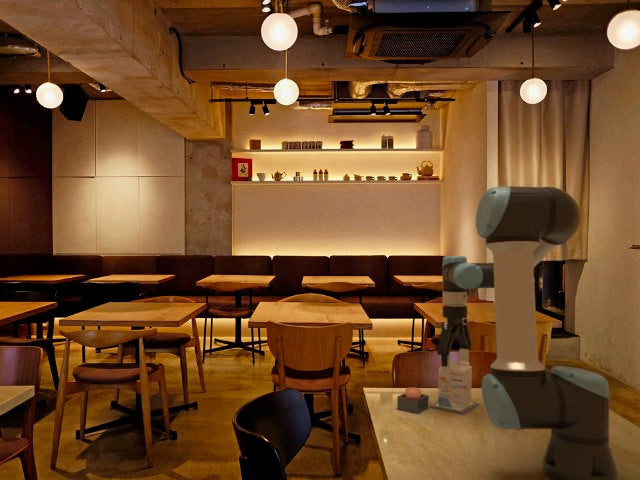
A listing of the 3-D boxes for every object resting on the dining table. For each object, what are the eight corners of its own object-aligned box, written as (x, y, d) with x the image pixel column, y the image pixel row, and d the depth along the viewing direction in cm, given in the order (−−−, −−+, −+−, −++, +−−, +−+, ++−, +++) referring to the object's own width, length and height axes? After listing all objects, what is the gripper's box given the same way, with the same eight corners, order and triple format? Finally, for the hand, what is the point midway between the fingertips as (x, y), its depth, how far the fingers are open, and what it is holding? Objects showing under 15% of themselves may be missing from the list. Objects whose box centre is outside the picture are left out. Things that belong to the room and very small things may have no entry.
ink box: (437, 405, 167) (437, 362, 167) (445, 398, 175) (445, 357, 175) (465, 409, 163) (465, 365, 163) (472, 402, 170) (472, 360, 170)
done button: (416, 405, 163) (416, 392, 163) (402, 402, 166) (402, 389, 166) (423, 402, 167) (423, 389, 167) (409, 399, 170) (409, 386, 170)
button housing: (417, 414, 161) (417, 400, 161) (397, 409, 166) (397, 396, 166) (428, 408, 167) (428, 395, 167) (408, 404, 171) (408, 391, 171)
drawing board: (463, 414, 161) (463, 412, 161) (430, 407, 168) (430, 405, 168) (479, 405, 170) (479, 402, 170) (446, 398, 177) (446, 396, 177)
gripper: (449, 309, 157) (449, 382, 156) (481, 302, 176) (481, 367, 176) (425, 307, 161) (425, 378, 161) (459, 301, 181) (460, 364, 181)
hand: (455, 373), depth 168 cm, fingers open, 13 cm apart
